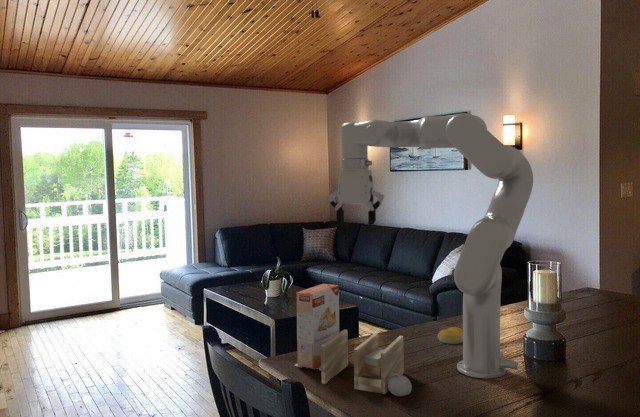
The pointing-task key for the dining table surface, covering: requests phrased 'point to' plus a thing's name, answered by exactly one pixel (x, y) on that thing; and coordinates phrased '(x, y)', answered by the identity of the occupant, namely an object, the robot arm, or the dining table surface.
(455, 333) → the bread roll
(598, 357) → the dining table surface
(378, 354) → the offcut
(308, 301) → the cracker box
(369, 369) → the offcut
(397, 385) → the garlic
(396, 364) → the rack
